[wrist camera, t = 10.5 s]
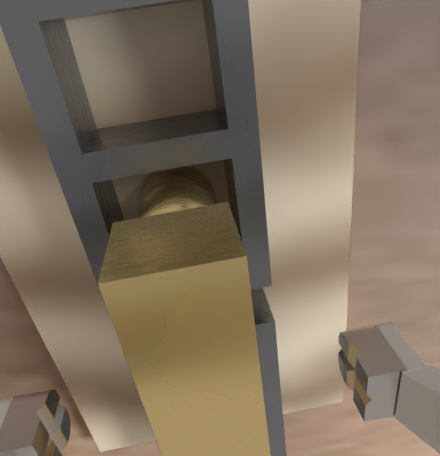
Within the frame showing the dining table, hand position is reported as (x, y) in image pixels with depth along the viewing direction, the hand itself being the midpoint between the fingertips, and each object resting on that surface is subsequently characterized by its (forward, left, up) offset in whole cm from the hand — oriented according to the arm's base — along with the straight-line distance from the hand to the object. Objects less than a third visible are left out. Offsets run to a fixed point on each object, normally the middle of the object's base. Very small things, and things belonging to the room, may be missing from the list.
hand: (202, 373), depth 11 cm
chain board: (0, 0, -6) cm, 6 cm away
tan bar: (0, 0, -5) cm, 5 cm away
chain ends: (0, 0, -6) cm, 6 cm away
